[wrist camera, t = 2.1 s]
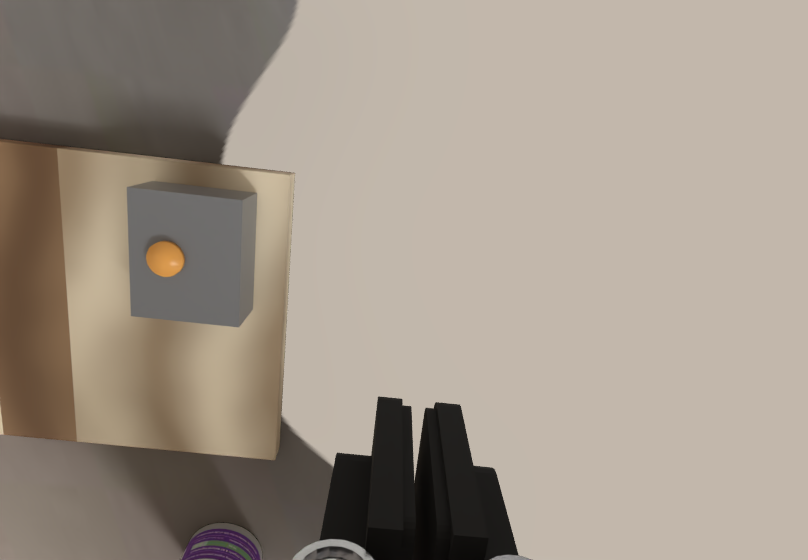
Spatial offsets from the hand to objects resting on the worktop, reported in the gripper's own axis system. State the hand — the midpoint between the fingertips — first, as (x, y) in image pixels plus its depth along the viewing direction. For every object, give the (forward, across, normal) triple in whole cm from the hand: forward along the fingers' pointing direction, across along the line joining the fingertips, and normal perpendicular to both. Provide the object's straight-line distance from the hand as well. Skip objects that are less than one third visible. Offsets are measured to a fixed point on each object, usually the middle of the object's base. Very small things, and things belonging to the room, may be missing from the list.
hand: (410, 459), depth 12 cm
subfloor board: (+17, +16, +4) cm, 23 cm away
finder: (+16, +10, 0) cm, 19 cm away
